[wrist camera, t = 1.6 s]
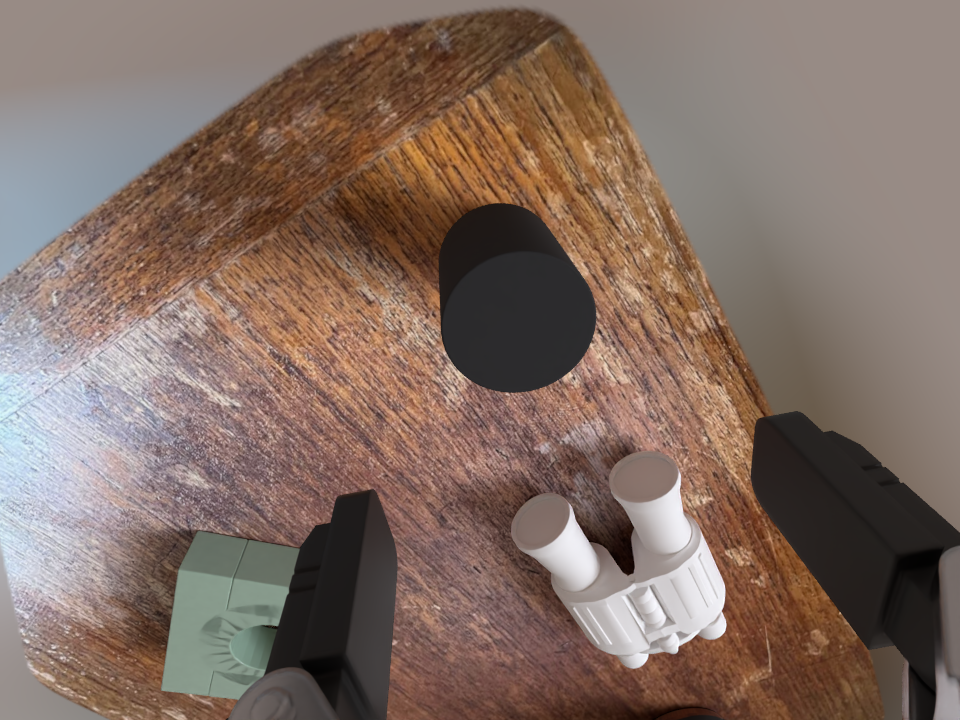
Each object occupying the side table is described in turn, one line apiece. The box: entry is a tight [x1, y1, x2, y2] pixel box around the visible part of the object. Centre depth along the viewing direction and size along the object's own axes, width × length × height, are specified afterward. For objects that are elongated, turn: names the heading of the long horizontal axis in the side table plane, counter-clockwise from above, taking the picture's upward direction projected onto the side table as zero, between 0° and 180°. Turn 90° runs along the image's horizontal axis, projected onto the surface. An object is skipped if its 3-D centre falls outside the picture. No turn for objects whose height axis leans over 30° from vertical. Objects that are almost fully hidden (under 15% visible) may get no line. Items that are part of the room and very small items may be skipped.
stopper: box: [439, 203, 596, 393], centre depth 22 cm, size 5×5×9 cm
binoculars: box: [511, 451, 726, 668], centre depth 35 cm, size 10×16×5 cm, turn 28°
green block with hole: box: [161, 531, 300, 699], centre depth 36 cm, size 12×12×3 cm
